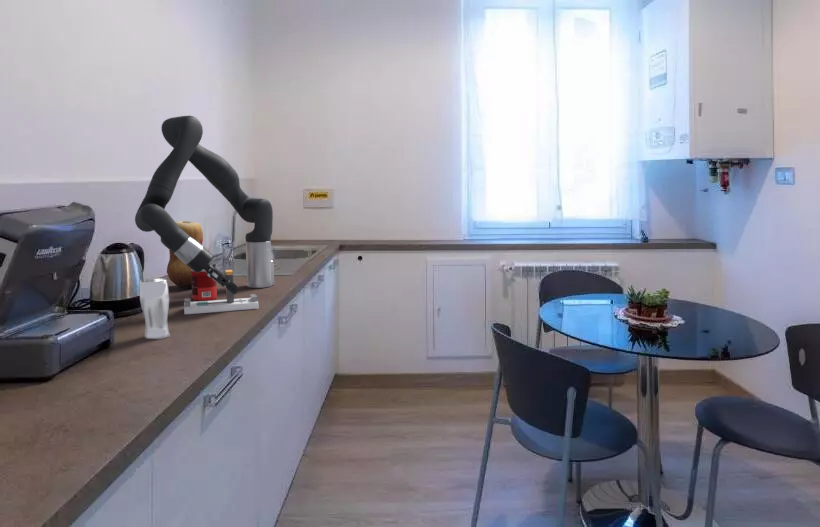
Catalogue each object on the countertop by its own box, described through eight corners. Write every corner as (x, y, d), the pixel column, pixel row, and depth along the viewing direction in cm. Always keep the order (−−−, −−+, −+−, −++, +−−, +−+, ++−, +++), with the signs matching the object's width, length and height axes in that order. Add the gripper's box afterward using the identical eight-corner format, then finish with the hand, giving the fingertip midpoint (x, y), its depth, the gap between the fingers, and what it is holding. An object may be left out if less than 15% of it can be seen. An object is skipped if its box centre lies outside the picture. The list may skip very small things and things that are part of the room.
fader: (227, 302, 181) (226, 271, 180) (226, 299, 185) (225, 270, 184) (234, 301, 182) (232, 271, 181) (233, 299, 186) (231, 269, 184)
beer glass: (161, 331, 156) (158, 276, 154) (177, 335, 152) (173, 279, 150) (137, 337, 150) (133, 280, 148) (152, 341, 147) (148, 283, 144)
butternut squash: (205, 289, 213) (201, 222, 209) (166, 291, 209) (162, 222, 205) (206, 283, 226) (203, 219, 222) (169, 284, 222) (165, 220, 218)
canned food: (221, 298, 198) (220, 266, 197) (206, 303, 191) (204, 270, 189) (203, 296, 201) (201, 265, 199) (187, 301, 193) (185, 269, 192)
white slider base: (184, 314, 175) (183, 303, 175) (184, 308, 183) (183, 297, 182) (258, 308, 183) (258, 297, 183) (255, 303, 191) (255, 293, 190)
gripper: (203, 248, 172) (246, 285, 178) (201, 243, 185) (242, 278, 191) (185, 267, 171) (229, 304, 177) (184, 260, 184) (226, 295, 190)
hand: (236, 290), depth 184 cm, fingers closed on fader, 4 cm apart
